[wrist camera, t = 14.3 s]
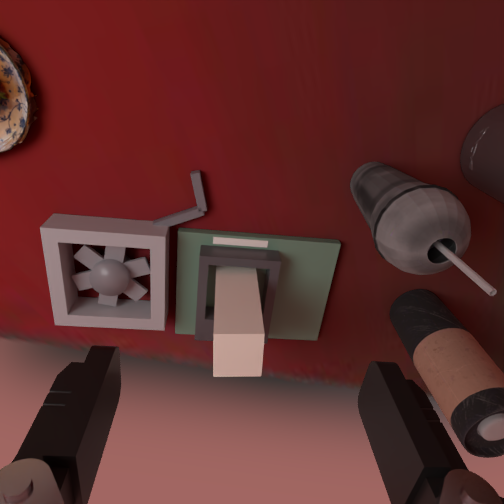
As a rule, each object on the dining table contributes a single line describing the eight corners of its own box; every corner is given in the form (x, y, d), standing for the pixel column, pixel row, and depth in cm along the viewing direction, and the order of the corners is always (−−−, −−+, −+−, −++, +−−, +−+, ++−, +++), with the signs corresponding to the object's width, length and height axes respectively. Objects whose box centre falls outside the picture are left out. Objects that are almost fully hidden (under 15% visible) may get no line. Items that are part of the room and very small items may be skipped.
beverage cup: (361, 136, 39) (472, 213, 21) (419, 165, 41) (565, 259, 23) (324, 198, 42) (395, 312, 24) (380, 223, 44) (483, 346, 26)
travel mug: (393, 286, 48) (476, 407, 32) (447, 287, 48) (554, 406, 33) (382, 330, 51) (452, 459, 35) (432, 330, 52) (523, 457, 36)
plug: (255, 264, 44) (264, 334, 34) (252, 310, 47) (260, 387, 37) (216, 263, 44) (213, 334, 33) (216, 310, 47) (213, 388, 36)
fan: (209, 171, 40) (208, 181, 37) (200, 313, 48) (198, 332, 45) (46, 155, 38) (30, 165, 35) (66, 306, 46) (55, 324, 43)
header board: (338, 239, 44) (347, 254, 41) (315, 335, 51) (321, 354, 48) (178, 227, 42) (175, 242, 39) (176, 328, 49) (172, 347, 46)
